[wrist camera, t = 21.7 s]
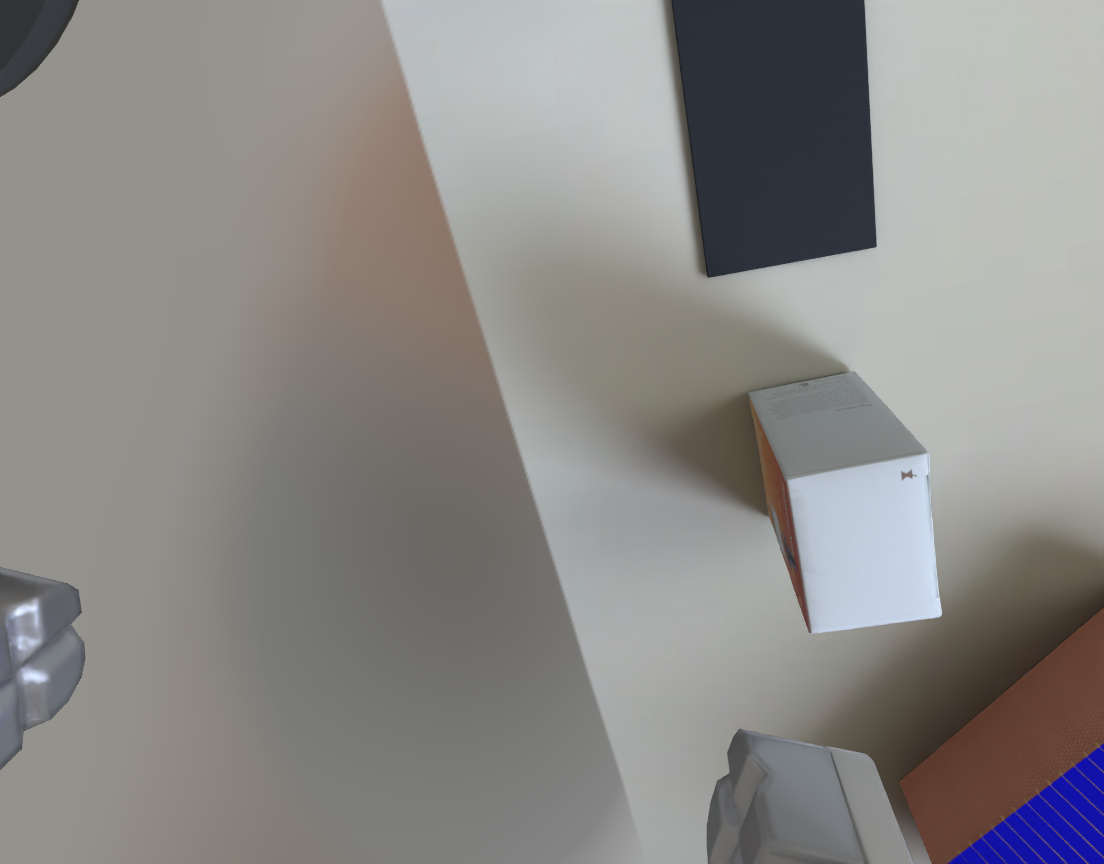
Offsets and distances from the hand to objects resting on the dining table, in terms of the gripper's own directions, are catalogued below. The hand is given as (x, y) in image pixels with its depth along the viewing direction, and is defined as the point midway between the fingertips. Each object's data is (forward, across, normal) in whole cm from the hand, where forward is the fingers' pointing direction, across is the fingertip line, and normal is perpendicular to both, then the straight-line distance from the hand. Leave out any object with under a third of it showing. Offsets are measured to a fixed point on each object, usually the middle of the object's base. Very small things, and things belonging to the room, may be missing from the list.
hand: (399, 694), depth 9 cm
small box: (+31, -14, +7) cm, 35 cm away
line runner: (+31, -6, -13) cm, 34 cm away
